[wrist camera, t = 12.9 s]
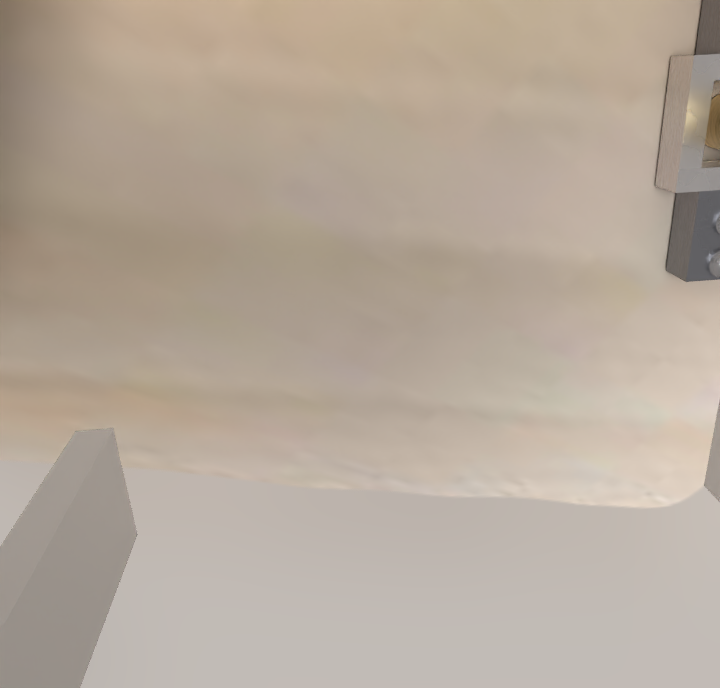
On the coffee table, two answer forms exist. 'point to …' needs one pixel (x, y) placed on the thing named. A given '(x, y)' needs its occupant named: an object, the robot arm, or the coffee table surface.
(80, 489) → the robot arm
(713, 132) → the pin
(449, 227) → the coffee table surface
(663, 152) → the chain joint
